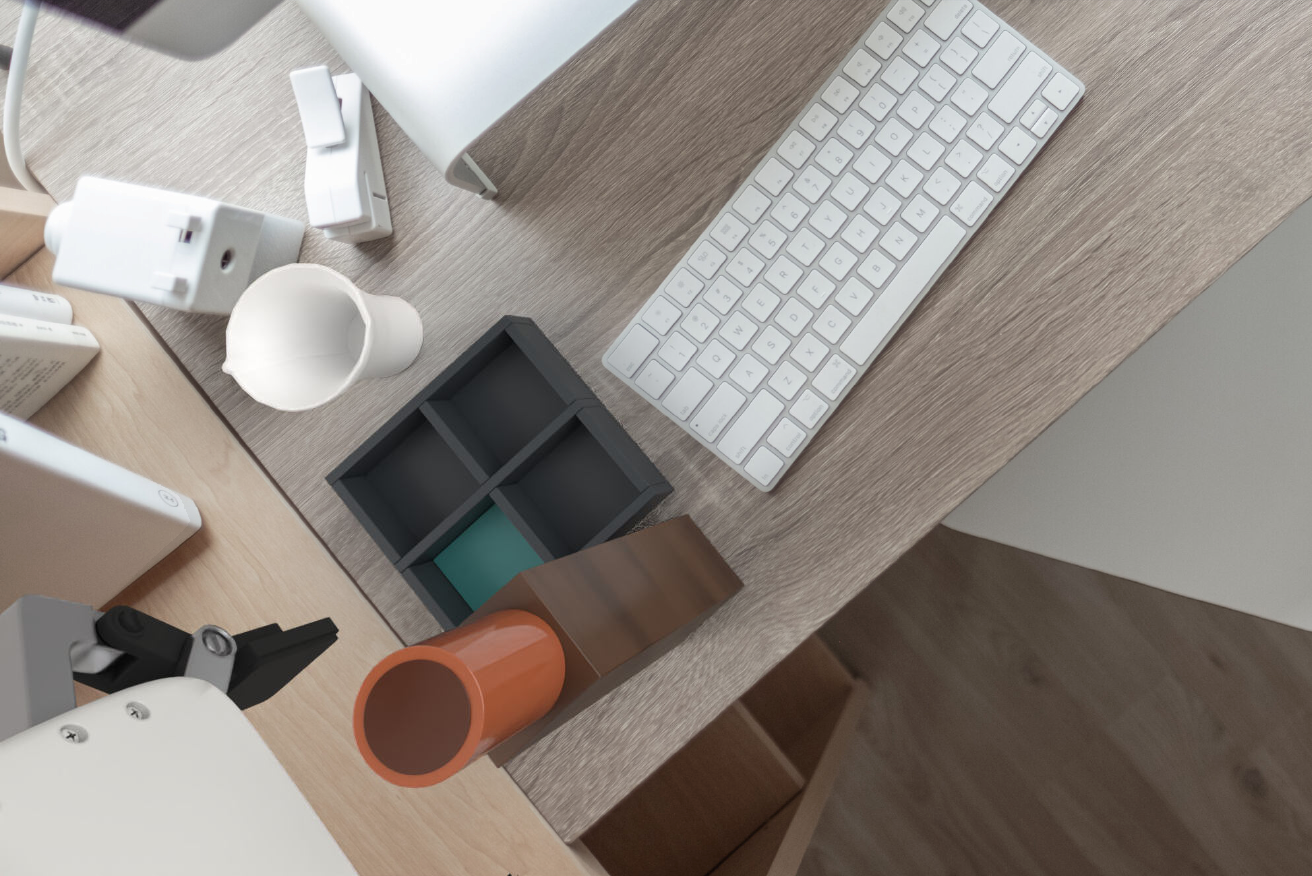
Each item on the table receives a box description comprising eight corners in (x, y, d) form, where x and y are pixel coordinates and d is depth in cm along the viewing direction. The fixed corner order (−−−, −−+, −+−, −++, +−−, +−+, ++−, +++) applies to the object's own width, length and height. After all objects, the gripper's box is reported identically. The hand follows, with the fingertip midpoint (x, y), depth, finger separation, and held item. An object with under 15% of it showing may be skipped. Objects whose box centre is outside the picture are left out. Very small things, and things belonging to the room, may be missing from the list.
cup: (304, 306, 80) (197, 295, 70) (431, 257, 80) (342, 239, 70) (339, 430, 79) (236, 436, 69) (468, 379, 79) (384, 379, 69)
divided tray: (675, 489, 77) (656, 494, 73) (498, 652, 76) (470, 665, 72) (530, 317, 79) (505, 314, 75) (357, 473, 78) (323, 478, 75)
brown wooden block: (674, 648, 75) (497, 769, 52) (617, 575, 76) (416, 661, 52) (745, 585, 76) (601, 677, 52) (687, 513, 76) (520, 571, 53)
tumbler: (547, 744, 52) (461, 805, 44) (438, 714, 52) (333, 769, 45) (579, 624, 52) (499, 664, 45) (470, 596, 53) (372, 631, 45)
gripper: (-636, 859, 20) (139, 641, 37) (-109, 1804, 18) (463, 1107, 35) (-284, 565, 20) (324, 482, 37) (281, 1449, 18) (659, 931, 35)
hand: (391, 782), depth 36 cm, fingers open, 9 cm apart
